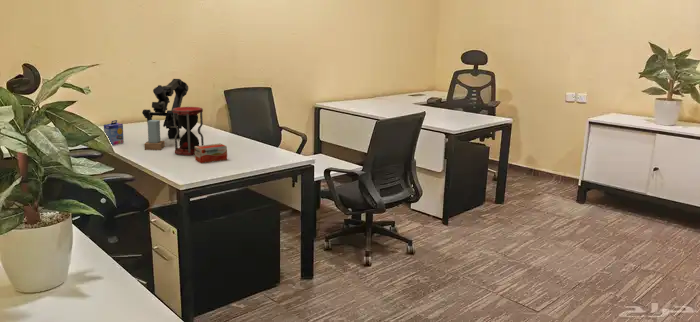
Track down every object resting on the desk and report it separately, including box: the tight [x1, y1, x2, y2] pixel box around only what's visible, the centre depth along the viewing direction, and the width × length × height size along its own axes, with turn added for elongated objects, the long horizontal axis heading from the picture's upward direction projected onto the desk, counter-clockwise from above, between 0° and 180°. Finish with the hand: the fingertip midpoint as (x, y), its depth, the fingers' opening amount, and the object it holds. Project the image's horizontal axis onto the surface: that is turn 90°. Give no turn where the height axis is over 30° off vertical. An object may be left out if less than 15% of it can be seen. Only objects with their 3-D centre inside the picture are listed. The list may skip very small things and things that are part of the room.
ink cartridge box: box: [103, 119, 125, 146], centre depth 324 cm, size 10×6×14 cm, turn 152°
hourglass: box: [171, 106, 205, 157], centre depth 307 cm, size 16×16×25 cm
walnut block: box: [143, 140, 166, 151], centre depth 318 cm, size 9×9×4 cm
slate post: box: [147, 119, 161, 143], centre depth 316 cm, size 5×5×12 cm
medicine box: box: [194, 143, 228, 164], centre depth 294 cm, size 15×8×8 cm, turn 128°
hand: (156, 126), depth 318 cm, fingers open, 9 cm apart
